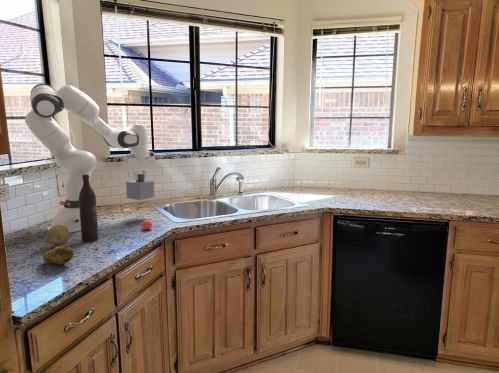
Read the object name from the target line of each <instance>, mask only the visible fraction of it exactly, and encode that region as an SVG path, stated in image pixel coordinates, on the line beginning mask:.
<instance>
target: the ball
mask: <svg viewBox="0 0 499 373" xmlns="http://www.w3.org/2000/svg"><path fill="white" fill-rule="evenodd" d="M141 226H142V227H141V228H142V229H143V230H146V231H147V230H150V229H151V228H152V227H153V222H152V220H150V219H144V220H143V221H142V222H141Z"/></svg>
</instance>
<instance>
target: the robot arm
mask: <svg viewBox="0 0 499 373" xmlns="http://www.w3.org/2000/svg"><path fill="white" fill-rule="evenodd" d="M29 100H30V106H31V109H32V110H30V111H28V113H27V114H26V115H25V118H24V122H25V124H26V126H27V128H28V129H29V130H30V131H31V133H32V134H33V135H34V137H36V139H38V141H40V143H41V144H43V146H44V147H45V148H47V150H48V151H49V152H50V153H51V155H52V157H53V158H54V161H55V164H56V165H57V166H58V167H59V168H61V169H63V171H69V174H68V175H69V176H68V180H67V181H66V182H65V185H64V186H65V187H64V188H65V196H66V198H65V201H63V200H60V201H59V202H58V204H59V205H60V206H63V208H61V209H60V210H59V211H58V212H57V213H56V214H55V215H54V216H53V218H52V221H51V226H48V227H47V229H46V230H47V231H48V230H49V229H50V228H51V227H53V226H55V225H63V226H65V227H66V228H67V229H68V230H69V233H74V232H81V223H80V209H79V193H80V191H81V189H82V186H83V178H82V176H83V175H84V174H89V183H90V184H91V176H92V173H93V172H94V170H95V169H96V167H97V162H98V161H97V157H96V156H95V154H94V153H91V152H89V151H87V150H84V149H83V150H82V149H77V148H75V146H73V144H72V143H71V141H70V139H71V138H70V136H69V135H68V133H67V132H66V131H65V130H64V129H63V128H62V126H60V125H59V124H58V122H57V121H56V120H55V119H54V118H53V117H54V116H56V115H57V114H58V113H60V112H62V111H63V110H66V111H67V112H69V113H70V114H72V115H73V116H74V117H76V118H77V119H79V120H80V121H82V122H83V123H84V124H87V125H88V126H89V127H90V128H92V129H93V130H94V131H95V132H96V133H98V134H99V135H100V136H101V137H102V139H103V140H104V142H105V144H106V145H108V147H110V148H113V149H129V148H130V154H125V156H124V157H123V162H122V163H123V164H122V171H123V173H126V174H129V173H130V174H131V173H132V175H133V177H134V181H135V180H139V177H138V176H137V174H138V172H142V174H144V180H146V175H147V173H148V172H147V171H153V170H155V169H156V166H157V164H156V158H155V157H156V153H155V152H153V151H150V150H149V148H148V130H147V127H146V125H145V124H142V123H138V122H137V123H136V122H132V123H131V124H130V125H129V126H126V127H124V128H122V129H119V128H113V127H111V126H110V125H108V124H107V122H105V121H104V120H103V119H101V118H100V116H99V115H100V107H99V105H98V104H97V103H96V102H95V101H94V100H93V99H92V98H91V97H90V96H88V95H87V94H86V93H85V92H83V91H81V90H80V89H78V88H77V87H75V86H73V85H71V84H66V85H63V86H61V88H59V89H58V90H55V89H54V88H53V87H52V86H51V85H50V84H48V83H38V84H36V85H34V86H33V87H32V89H31V90H30V96H29ZM47 231H46V232H47Z"/></svg>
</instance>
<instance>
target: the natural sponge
mask: <svg viewBox="0 0 499 373" xmlns="http://www.w3.org/2000/svg"><path fill="white" fill-rule="evenodd" d="M50 227H51V226H50ZM70 235H71V234H70V233H69V230H68V229H67V228H66V227H65V226H63V225H55V226H53V227H51V228H50V229H49V230H48V231H46V235H45V240H46V242H47V243H48V244H49V245H51V246H54V247H55V248H56V247H58V246H66V243H67V242H68V240H69V238H70Z"/></svg>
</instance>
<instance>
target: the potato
mask: <svg viewBox="0 0 499 373" xmlns="http://www.w3.org/2000/svg"><path fill="white" fill-rule="evenodd" d="M72 258H74V251H73V248H72V247H70V246H68V245H64V246H58V247H56V246H55V247H54V248H53V249H50V250H47V251H46V252H44V253H43V255H42V259H43V261H45V263H48V264H55V265H63V264H67V263H70V261H71V260H72Z"/></svg>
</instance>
